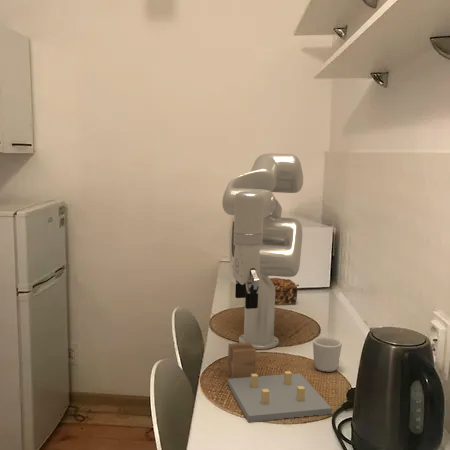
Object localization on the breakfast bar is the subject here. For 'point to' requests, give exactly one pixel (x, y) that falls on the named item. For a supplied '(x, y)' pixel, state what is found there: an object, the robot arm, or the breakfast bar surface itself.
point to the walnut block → (241, 360)
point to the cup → (326, 353)
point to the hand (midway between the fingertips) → (246, 302)
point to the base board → (277, 397)
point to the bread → (284, 291)
